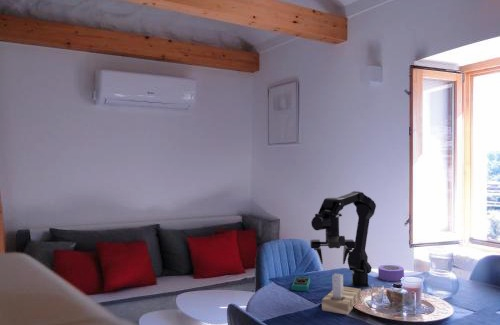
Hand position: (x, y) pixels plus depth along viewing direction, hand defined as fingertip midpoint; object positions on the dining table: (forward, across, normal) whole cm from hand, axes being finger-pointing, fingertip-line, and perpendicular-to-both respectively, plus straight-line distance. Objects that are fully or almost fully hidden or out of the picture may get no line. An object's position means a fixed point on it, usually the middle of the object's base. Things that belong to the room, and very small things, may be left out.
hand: (332, 263), depth 181 cm
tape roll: (+13, +31, +26) cm, 42 cm away
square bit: (+13, 0, -17) cm, 21 cm away
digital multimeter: (+14, -13, +12) cm, 22 cm away
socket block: (+13, +2, -12) cm, 18 cm away
